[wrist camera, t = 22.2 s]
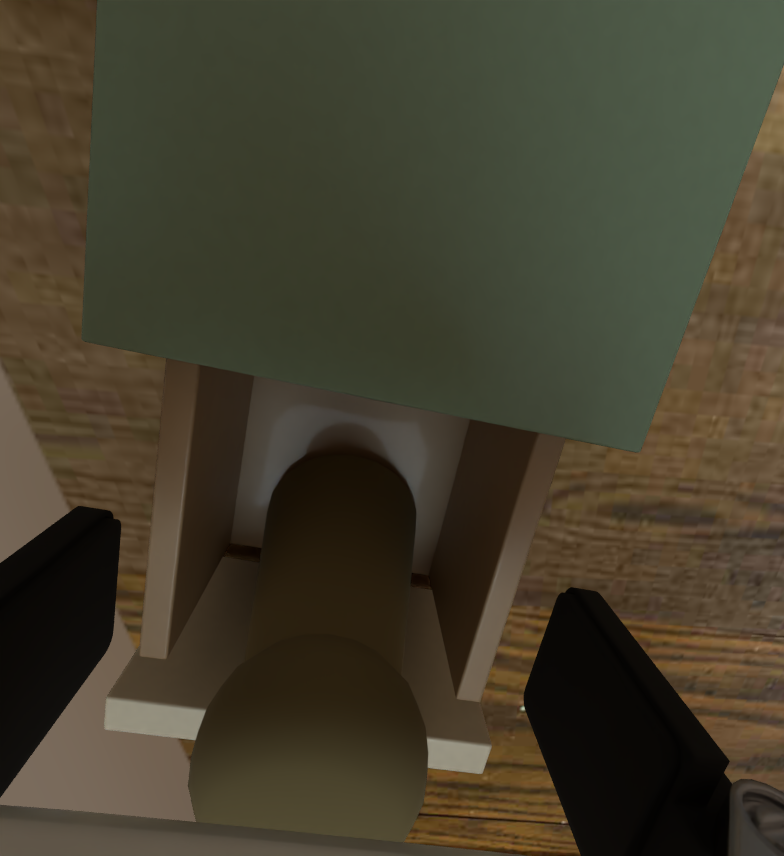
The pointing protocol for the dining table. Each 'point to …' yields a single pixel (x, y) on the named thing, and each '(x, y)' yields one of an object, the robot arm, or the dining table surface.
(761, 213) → the dining table surface
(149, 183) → the cabinet
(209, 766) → the olive rounded figure
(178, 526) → the drawer
